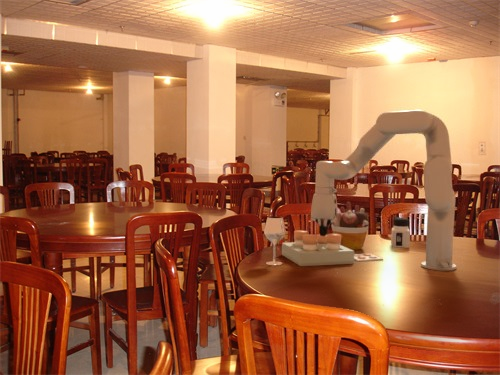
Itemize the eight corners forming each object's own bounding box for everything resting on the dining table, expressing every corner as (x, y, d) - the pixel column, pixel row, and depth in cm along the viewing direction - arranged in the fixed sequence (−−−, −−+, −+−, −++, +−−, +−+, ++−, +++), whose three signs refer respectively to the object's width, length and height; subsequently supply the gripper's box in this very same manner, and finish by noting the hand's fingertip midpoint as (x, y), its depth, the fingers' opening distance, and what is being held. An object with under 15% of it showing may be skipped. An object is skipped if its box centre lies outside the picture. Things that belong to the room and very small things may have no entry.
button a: (342, 253, 215) (343, 235, 214) (329, 253, 214) (330, 236, 213) (336, 250, 220) (337, 233, 220) (324, 251, 219) (324, 233, 218)
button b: (332, 253, 225) (332, 236, 224) (319, 253, 223) (320, 236, 223) (326, 250, 230) (327, 234, 230) (314, 251, 229) (314, 234, 228)
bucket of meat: (369, 252, 235) (371, 206, 233) (330, 251, 237) (331, 205, 235) (365, 244, 255) (367, 201, 253) (330, 243, 257) (331, 200, 255)
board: (353, 263, 213) (354, 250, 213) (300, 266, 207) (300, 253, 207) (330, 252, 234) (331, 241, 234) (281, 254, 228) (282, 242, 228)
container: (409, 248, 248) (410, 219, 247) (391, 247, 249) (392, 218, 248) (408, 245, 255) (409, 217, 254) (391, 244, 257) (392, 216, 256)
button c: (319, 254, 212) (319, 236, 212) (305, 254, 211) (306, 236, 210) (313, 251, 218) (314, 234, 217) (300, 252, 216) (300, 234, 216)
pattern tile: (383, 260, 220) (383, 258, 220) (358, 261, 217) (358, 259, 217) (370, 254, 231) (370, 252, 231) (346, 255, 228) (346, 253, 228)
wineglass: (259, 264, 209) (260, 217, 208) (269, 260, 216) (270, 215, 215) (279, 267, 205) (280, 219, 204) (288, 263, 212) (289, 216, 211)
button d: (309, 249, 222) (310, 232, 221) (296, 250, 220) (296, 232, 220) (304, 247, 227) (305, 230, 227) (291, 247, 226) (292, 230, 225)
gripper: (345, 191, 224) (343, 236, 226) (311, 189, 232) (310, 232, 233) (338, 192, 218) (337, 238, 219) (304, 190, 225) (302, 235, 227)
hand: (323, 235), depth 226 cm, fingers closed
